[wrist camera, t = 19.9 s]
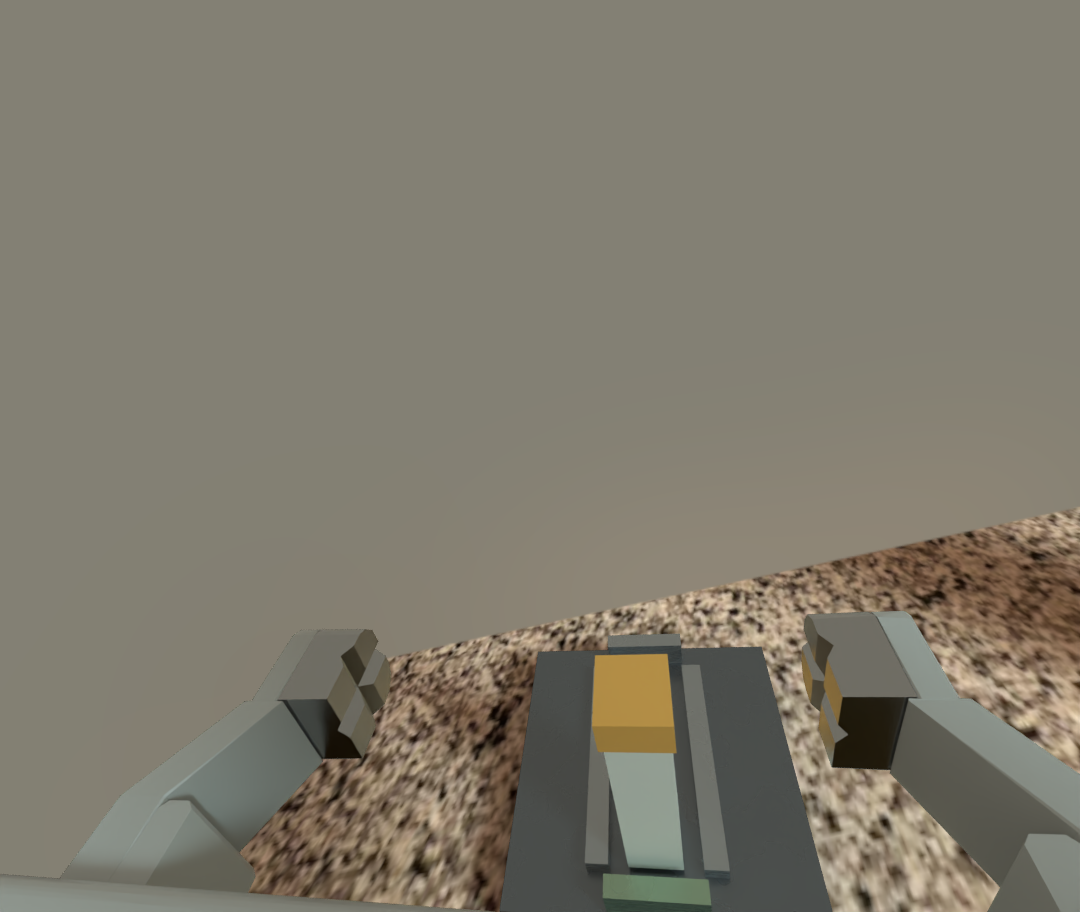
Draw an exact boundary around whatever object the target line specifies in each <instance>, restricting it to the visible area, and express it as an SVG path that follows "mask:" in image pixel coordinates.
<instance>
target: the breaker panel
mask: <svg viewBox="0 0 1080 912" xmlns="http://www.w3.org/2000/svg"><path fill="white" fill-rule="evenodd" d="M641 654H667V655H668V665H669V675H670V686H671V697H672V708H673V719H674V730H675V741H676V752H677V753H673V757H674V767H675V776H676V786H677V795H678V805H679V816H680V828H681V839H682V851H683V862H684V870H670V869H652V868H634V867H628V863H627V858H626V853H625V849H624V844H623V839H622V835H621V830H620V825H619V821H618V816H617V811H616V807H615V802H614V798H613V793H612V788H611V784H610V779H609V774H608V770H607V765H606V760H605V756H604V752H598V751H597V746H596V742H595V737H594V733H593V729H592V715H593V692H594V669H595V655H641ZM500 912H832V908H831V904H830V901H829V897H828V893H827V889H826V886H825V882H824V878H823V874H822V871H821V867H820V863H819V859H818V856H817V852H816V848H815V845H814V841H813V837H812V833H811V830H810V826H809V822H808V818H807V815H806V811H805V807H804V804H803V800H802V796H801V792H800V789H799V785H798V781H797V777H796V774H795V770H794V766H793V763H792V759H791V755H790V751H789V748H788V744H787V740H786V736H785V733H784V729H783V725H782V722H781V718H780V714H779V710H778V707H777V703H776V699H775V695H774V692H773V688H772V684H771V681H770V677H769V673H768V669H767V666H766V662H765V658H764V654H763V651H762V647H731V648H686V649H681V642H680V634H652V635H616V636H608V650H595V651H550V652H538V657H537V663H536V670H535V677H534V684H533V690H532V697H531V704H530V710H529V717H528V724H527V730H526V737H525V744H524V750H523V757H522V764H521V770H520V777H519V784H518V790H517V797H516V804H515V810H514V817H513V824H512V831H511V837H510V844H509V851H508V857H507V864H506V871H505V877H504V884H503V891H502V897H501V904H500Z"/></svg>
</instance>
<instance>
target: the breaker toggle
mask: <svg viewBox="0 0 1080 912" xmlns="http://www.w3.org/2000/svg"><path fill="white" fill-rule="evenodd" d="M592 729H593V733H594V737H595V742H596V746H597V751H598V752H604V756H605V760H606V765H607V770H608V774H609V779H610V784H611V788H612V793H613V798H614V802H615V807H616V811H617V816H618V821H619V825H620V830H621V835H622V839H623V844H624V849H625V853H626V858H627V863H628V867H634V868H652V869H670V870H684V862H683V851H682V839H681V828H680V816H679V805H678V795H677V786H676V776H675V767H674V757H673V753H677V752H676V741H675V730H674V719H673V708H672V697H671V686H670V675H669V665H668V655H667V654H641V655H595V669H594V692H593V715H592Z"/></svg>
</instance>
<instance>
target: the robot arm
mask: <svg viewBox="0 0 1080 912" xmlns="http://www.w3.org/2000/svg"><path fill="white" fill-rule="evenodd" d="M804 632H805V635H806V638H807V641H808V643H806V644H805V645H804V646H803V647H802V660H801V661H802V671H803V678H804V682H805V687H806V691H807V694H808V697H809V700H810V703H811V704H812V705H813V706H814V707H815V708H816V709H818V710H819V711H820V720H819V731H820V734H821V737H822V740H823V743H824V746H825V749H826V752H827V755H828V758H829V761H830V764H831V767H833V768H855V769H877V770H890V774H891V775H892V776H893V777H894V778H895V779H896V780H897V781H898V782H899V783H900V784H901V785H902V786H903V787H904V788H905V789H906V790H907V791H908V792H909V793H910V794H911V795H912V796H913V797H914V798H915V799H916V801H917V802H918V803H919V804H920V805H921V806H922V807H923V808H924V809H925V810H926V811H927V812H928V813H929V814H930V815H931V816H932V817H933V818H934V819H935V820H936V821H937V822H938V823H939V824H940V825H941V826H942V827H943V828H944V829H945V830H946V831H947V832H948V834H949V835H950V836H951V837H952V838H953V839H954V840H955V841H956V842H957V843H958V844H959V845H960V846H961V847H962V848H963V849H964V850H965V851H966V852H967V853H968V854H969V855H970V856H971V857H972V858H973V859H974V860H975V861H976V862H977V863H978V864H979V866H980V867H981V868H982V869H983V870H984V871H985V872H986V873H987V874H988V875H989V876H990V877H991V878H992V879H993V880H994V881H995V882H996V883H997V884H998V885H999V886H1000V889H999V891H998V893H997V895H996V896H995V898H994V900H993V902H992V904H991V906H990V908H989V910H988V912H1080V774H1079V773H1077V772H1076V771H1074V770H1073V769H1072V768H1070V767H1069V766H1067V765H1066V764H1064V763H1063V762H1061V761H1060V760H1059V759H1057V758H1056V757H1054V756H1053V755H1051V754H1050V753H1048V752H1047V751H1046V750H1044V749H1043V748H1041V747H1040V746H1038V745H1037V744H1036V743H1034V742H1033V741H1031V740H1030V739H1028V738H1027V737H1025V736H1024V735H1023V734H1021V733H1020V732H1018V731H1017V730H1015V729H1014V728H1012V727H1011V726H1010V725H1008V724H1007V723H1005V722H1004V721H1002V720H1001V719H1000V718H998V717H997V716H995V715H994V714H992V713H991V712H989V711H988V710H987V709H985V708H984V707H982V706H981V705H979V704H978V703H976V702H975V701H974V700H972V699H966V698H959V696H958V694H957V693H956V691H955V689H954V688H953V686H952V684H951V683H950V681H949V679H948V678H947V676H946V674H945V672H944V671H943V669H942V667H941V666H940V664H939V662H938V661H937V659H936V657H935V656H934V654H933V652H932V651H931V649H930V647H929V646H928V644H927V642H926V640H925V639H924V637H923V635H922V634H921V632H920V630H919V629H918V627H917V625H916V624H915V622H914V620H913V619H912V617H911V616H910V615H909V614H908V613H907V612H905V611H888V612H871V613H869V612H853V613H830V614H807V616H806V618H805V622H804ZM377 643H378V640H377V638H376V636H375V634H374V633H373V631H372V630H366V629H362V630H361V629H359V630H358V629H347V630H346V629H345V630H344V629H340V630H338V629H335V630H300V631H299V632H297V633H296V634H295V635H293V636H292V638H291V640H290V641H289V643H288V644H287V646H286V648H285V649H284V651H283V652H282V654H281V655H280V657H279V658H278V660H277V662H276V663H275V665H274V666H273V668H272V669H271V671H270V673H269V674H268V676H267V678H266V679H265V681H264V682H263V684H262V685H261V687H260V688H259V690H258V692H257V693H256V695H255V696H254V698H253V699H252V701H244V702H243V703H242V704H240V705H239V706H238V707H236V708H235V709H234V710H232V711H231V712H230V713H229V714H227V715H226V716H225V717H223V718H222V719H221V720H219V721H218V722H217V723H215V724H214V725H213V726H211V727H210V728H209V729H207V730H206V731H205V732H204V733H202V734H201V735H199V736H198V737H197V738H196V739H194V740H193V741H192V742H190V743H189V744H188V745H186V746H185V747H184V748H182V749H181V750H180V751H178V752H177V753H176V754H174V755H173V756H172V757H171V758H169V759H168V760H167V761H165V762H164V763H163V764H161V765H160V766H159V767H157V768H156V769H155V770H153V771H152V772H151V773H149V774H148V775H147V776H145V777H144V778H143V779H141V780H140V781H139V782H138V783H136V784H135V785H134V786H132V787H131V788H130V789H128V790H127V791H126V792H124V793H123V794H122V795H121V796H120V797H119V798H118V799H117V801H116V802H115V804H114V805H113V806H112V808H111V809H110V810H109V812H108V813H107V814H106V816H105V817H104V818H103V820H102V821H101V823H100V824H99V825H98V827H97V828H96V829H95V831H94V832H93V833H92V835H91V836H90V838H89V839H88V840H87V842H86V843H85V844H84V846H83V847H82V849H81V850H80V851H79V852H78V854H77V855H76V857H75V858H74V859H73V861H72V862H71V863H70V865H69V866H68V867H67V869H66V870H65V871H64V873H63V874H62V875H61V877H60V878H46V877H32V876H20V875H6V874H0V912H493V911H480V910H467V909H454V908H440V907H427V906H414V905H401V904H388V903H375V902H362V901H348V900H335V899H322V898H309V897H296V896H283V895H270V894H256V893H248V892H249V889H250V887H251V885H252V883H253V881H254V879H255V872H254V868H253V867H252V866H251V865H250V864H249V863H248V862H247V861H246V860H245V859H244V858H243V856H242V855H241V854H240V853H239V852H240V851H241V850H242V849H243V848H244V847H245V846H246V845H247V844H248V842H249V841H250V840H251V839H252V838H253V837H254V836H255V835H256V834H257V833H258V832H259V830H260V829H261V828H262V827H263V826H264V825H265V824H266V823H267V822H268V821H269V820H270V818H271V817H272V816H273V815H274V814H275V813H276V812H277V811H278V810H279V809H280V808H281V806H282V805H283V804H284V803H285V802H286V801H287V800H288V799H289V798H290V797H291V796H292V795H293V793H294V792H295V791H296V790H297V789H298V788H299V787H300V786H301V785H302V784H303V783H304V781H305V780H306V779H307V778H308V777H309V776H310V775H311V774H312V773H313V772H314V771H315V769H316V768H317V767H318V766H319V765H320V764H321V763H322V762H323V760H322V759H351V758H363V756H364V754H365V751H366V749H367V746H368V744H369V741H370V739H371V737H372V734H373V732H374V729H375V727H376V724H375V720H374V717H373V714H374V713H375V712H377V711H378V710H379V709H380V708H381V707H382V706H383V705H384V704H385V701H386V699H387V696H388V693H389V691H390V682H391V671H390V665H389V662H388V660H387V658H386V656H385V655H383V654H382V653H380V652H379V651H378V650H376V649H375V647H376V645H377Z"/></svg>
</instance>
